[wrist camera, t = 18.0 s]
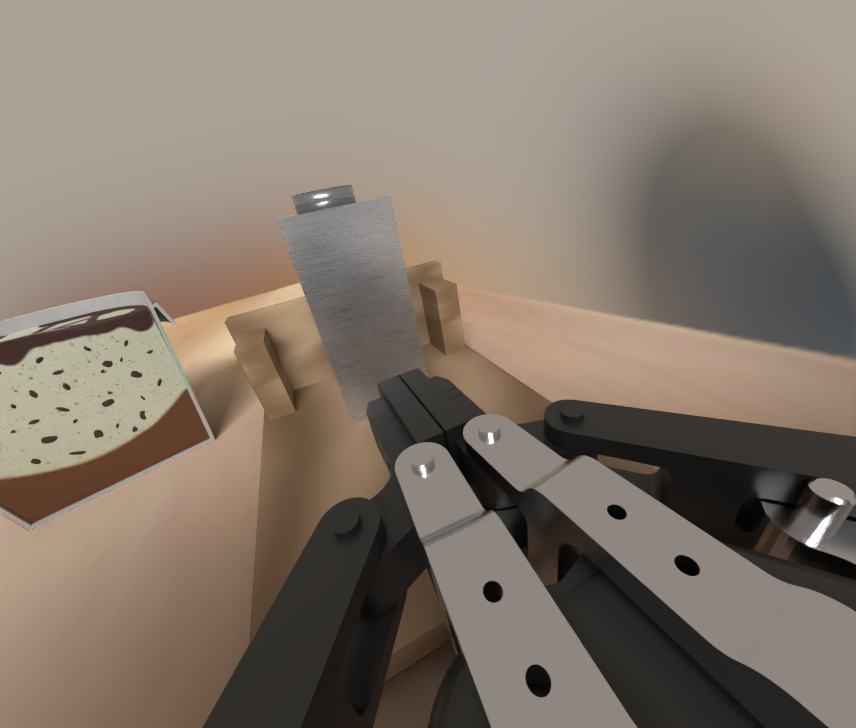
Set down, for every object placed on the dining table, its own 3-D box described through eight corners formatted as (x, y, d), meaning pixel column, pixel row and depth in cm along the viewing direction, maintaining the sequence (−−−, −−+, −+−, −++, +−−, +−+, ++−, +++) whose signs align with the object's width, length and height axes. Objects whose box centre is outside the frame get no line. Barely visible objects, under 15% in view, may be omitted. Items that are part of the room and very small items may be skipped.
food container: (226, 396, 27) (158, 279, 22) (238, 428, 23) (156, 290, 18) (28, 483, 21) (-122, 350, 17) (-11, 549, 17) (-232, 392, 12)
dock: (263, 759, 8) (71, 633, 5) (272, 405, 24) (227, 317, 21) (663, 502, 13) (707, 336, 9) (447, 343, 28) (433, 260, 25)
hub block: (353, 424, 18) (268, 197, 13) (337, 380, 24) (271, 203, 18) (431, 393, 20) (385, 175, 14) (400, 358, 25) (357, 186, 19)
